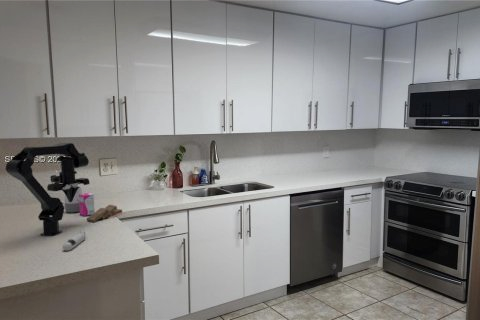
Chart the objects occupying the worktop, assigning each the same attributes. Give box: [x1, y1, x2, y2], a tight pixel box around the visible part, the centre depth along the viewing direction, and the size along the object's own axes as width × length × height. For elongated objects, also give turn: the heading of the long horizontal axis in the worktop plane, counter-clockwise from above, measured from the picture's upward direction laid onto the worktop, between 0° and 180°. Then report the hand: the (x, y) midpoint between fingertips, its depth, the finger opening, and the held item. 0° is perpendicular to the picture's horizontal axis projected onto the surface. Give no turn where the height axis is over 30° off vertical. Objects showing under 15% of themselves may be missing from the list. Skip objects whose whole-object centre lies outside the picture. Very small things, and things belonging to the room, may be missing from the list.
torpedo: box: [62, 225, 88, 252], centre depth 148 cm, size 18×5×7 cm, turn 1°
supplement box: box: [79, 192, 96, 218], centre depth 196 cm, size 6×6×12 cm
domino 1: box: [86, 207, 109, 223], centre depth 186 cm, size 2×5×10 cm
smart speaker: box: [64, 186, 83, 214], centre depth 203 cm, size 10×9×14 cm
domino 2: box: [99, 204, 118, 220], centre depth 191 cm, size 2×5×10 cm
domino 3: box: [108, 208, 123, 217], centre depth 196 cm, size 2×5×10 cm
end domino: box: [106, 212, 124, 219], centre depth 195 cm, size 2×5×10 cm
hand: (70, 202), depth 172 cm, fingers closed
